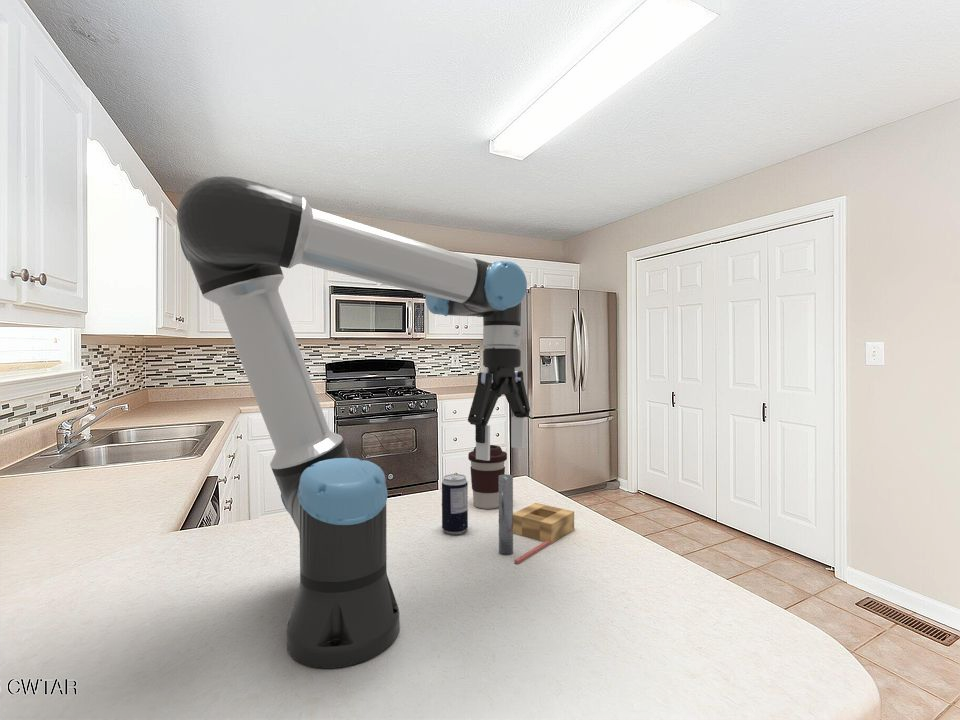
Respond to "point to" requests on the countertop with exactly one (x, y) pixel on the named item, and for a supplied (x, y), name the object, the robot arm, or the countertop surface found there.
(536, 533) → the wooden square frame
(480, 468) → the coffee cup
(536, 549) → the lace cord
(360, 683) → the countertop surface
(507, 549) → the grey capsule rod
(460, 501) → the beverage can
